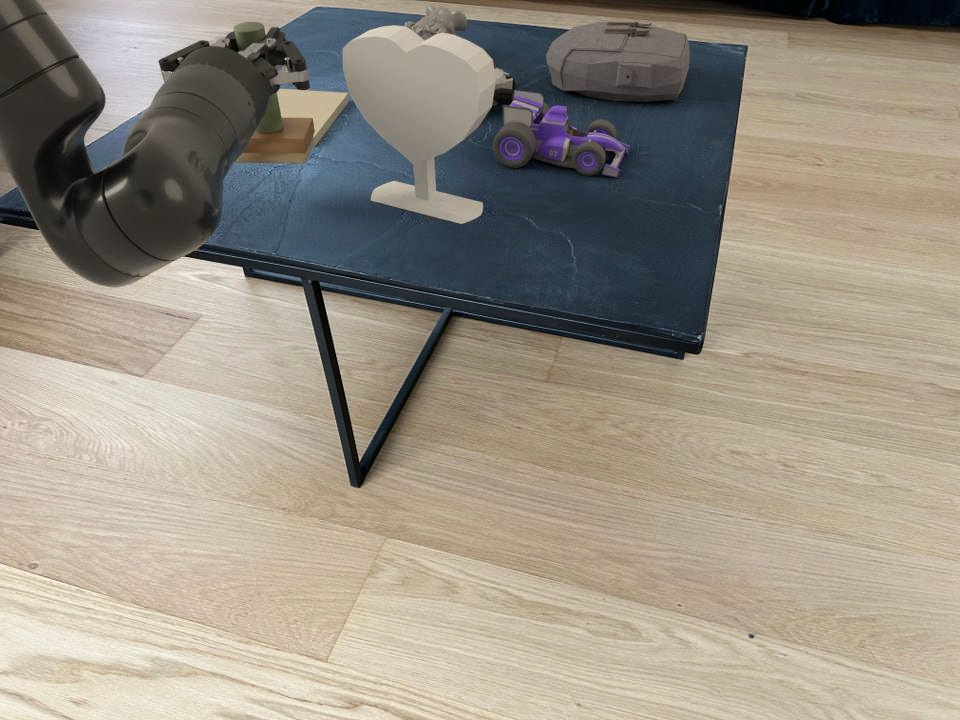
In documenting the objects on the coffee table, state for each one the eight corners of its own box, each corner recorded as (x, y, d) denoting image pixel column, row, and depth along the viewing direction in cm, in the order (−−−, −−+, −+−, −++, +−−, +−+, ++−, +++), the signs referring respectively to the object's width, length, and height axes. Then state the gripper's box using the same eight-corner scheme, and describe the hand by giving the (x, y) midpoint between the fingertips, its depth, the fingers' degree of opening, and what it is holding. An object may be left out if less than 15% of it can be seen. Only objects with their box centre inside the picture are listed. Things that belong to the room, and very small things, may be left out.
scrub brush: (230, 163, 77) (198, 35, 69) (243, 141, 81) (214, 17, 72) (307, 164, 77) (285, 35, 68) (316, 142, 81) (296, 17, 72)
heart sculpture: (498, 206, 83) (499, 38, 71) (478, 228, 80) (475, 56, 68) (379, 177, 88) (361, 16, 76) (355, 196, 85) (332, 31, 73)
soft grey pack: (687, 71, 111) (553, 60, 115) (697, 11, 105) (556, 2, 109) (682, 113, 100) (535, 100, 104) (693, 49, 94) (537, 38, 98)
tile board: (168, 135, 97) (165, 127, 96) (215, 92, 107) (213, 84, 107) (315, 146, 94) (313, 137, 94) (349, 101, 105) (348, 92, 104)
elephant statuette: (395, 73, 112) (390, 19, 107) (422, 46, 120) (419, -6, 115) (454, 80, 110) (452, 25, 104) (477, 51, 118) (477, -1, 113)
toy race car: (615, 184, 86) (621, 130, 82) (491, 165, 90) (491, 113, 86) (631, 148, 93) (638, 96, 88) (515, 132, 97) (516, 81, 92)
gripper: (286, 65, 58) (325, -4, 71) (108, 65, 59) (179, -4, 72) (302, 154, 63) (336, 75, 76) (138, 153, 64) (199, 74, 77)
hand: (260, 37), depth 74 cm, fingers closed on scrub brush, 3 cm apart
